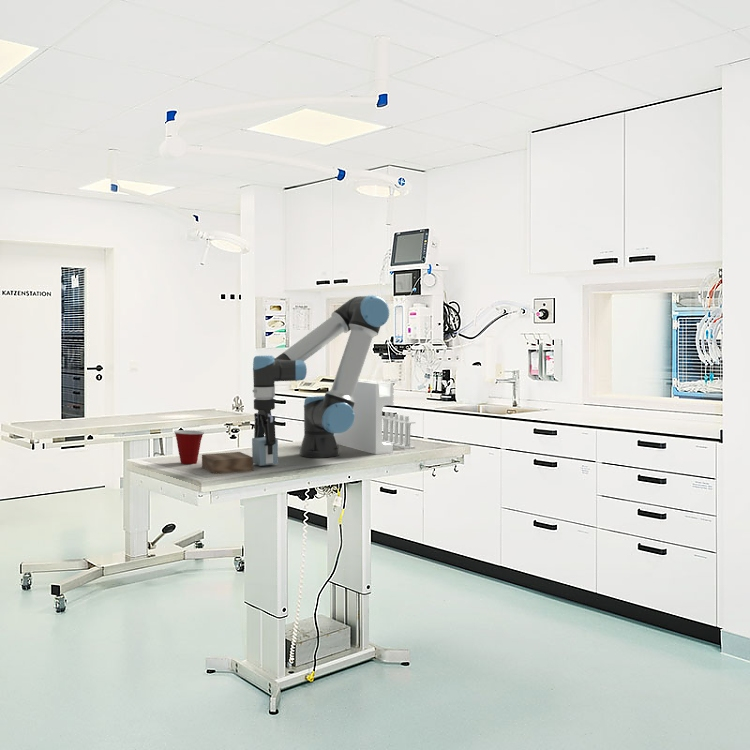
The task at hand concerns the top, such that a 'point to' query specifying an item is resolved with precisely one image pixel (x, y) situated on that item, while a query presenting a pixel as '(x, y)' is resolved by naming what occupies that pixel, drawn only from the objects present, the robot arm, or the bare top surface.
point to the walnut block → (227, 462)
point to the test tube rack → (396, 430)
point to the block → (368, 418)
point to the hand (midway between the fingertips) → (265, 461)
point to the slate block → (263, 451)
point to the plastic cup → (188, 445)
